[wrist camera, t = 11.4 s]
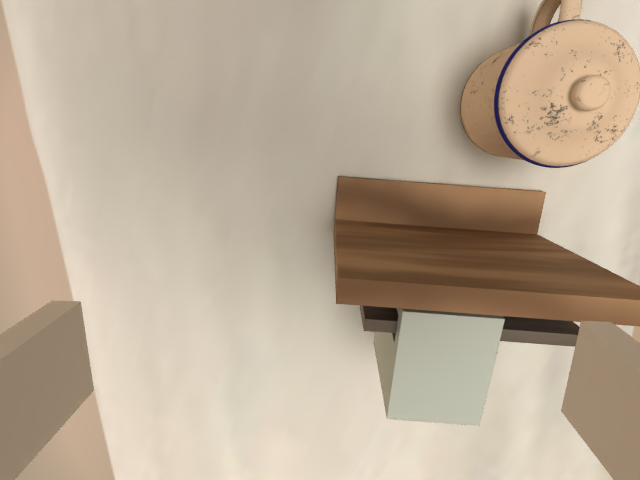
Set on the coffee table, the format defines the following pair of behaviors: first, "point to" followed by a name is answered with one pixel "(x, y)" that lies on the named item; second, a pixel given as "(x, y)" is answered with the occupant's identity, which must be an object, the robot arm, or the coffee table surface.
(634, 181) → the coffee table surface
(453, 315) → the grey-green box
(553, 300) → the brown wooden rack
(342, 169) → the coffee table surface
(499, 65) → the teacup with lid
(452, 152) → the coffee table surface
